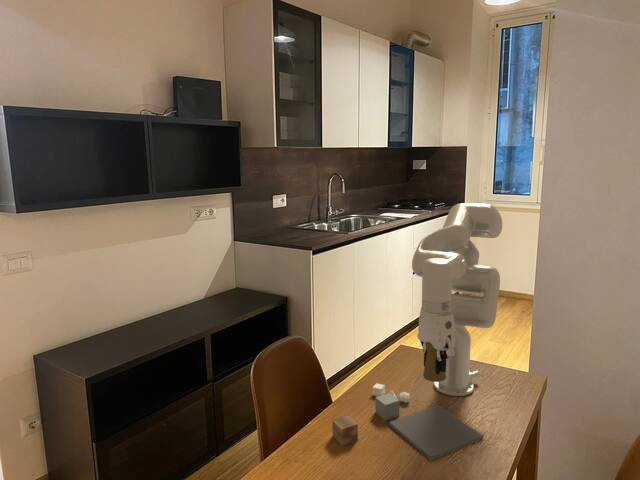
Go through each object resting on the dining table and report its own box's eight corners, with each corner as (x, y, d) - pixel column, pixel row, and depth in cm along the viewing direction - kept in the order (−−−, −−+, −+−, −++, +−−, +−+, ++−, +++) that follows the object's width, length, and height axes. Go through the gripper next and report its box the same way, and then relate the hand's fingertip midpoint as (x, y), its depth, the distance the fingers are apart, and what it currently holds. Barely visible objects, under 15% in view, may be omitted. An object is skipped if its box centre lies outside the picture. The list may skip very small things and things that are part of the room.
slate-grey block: (389, 408, 147) (389, 392, 146) (399, 415, 143) (399, 400, 142) (375, 412, 145) (375, 397, 144) (385, 420, 141) (385, 405, 140)
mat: (437, 407, 147) (437, 404, 146) (482, 439, 131) (482, 435, 131) (388, 425, 138) (388, 422, 138) (431, 460, 123) (431, 457, 123)
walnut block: (348, 431, 136) (348, 415, 135) (357, 440, 132) (357, 424, 131) (332, 436, 134) (332, 420, 133) (341, 446, 130) (341, 429, 129)
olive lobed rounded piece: (446, 382, 128) (447, 344, 126) (423, 381, 129) (423, 342, 127) (445, 371, 134) (446, 334, 131) (423, 370, 135) (423, 333, 133)
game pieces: (372, 396, 155) (372, 387, 154) (376, 391, 158) (376, 382, 157) (407, 405, 148) (407, 396, 148) (411, 401, 151) (411, 391, 151)
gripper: (470, 312, 122) (467, 378, 126) (426, 293, 136) (425, 354, 140) (447, 318, 118) (445, 386, 122) (405, 298, 133) (404, 360, 137)
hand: (434, 368), depth 131 cm, fingers closed on olive lobed rounded piece, 4 cm apart
